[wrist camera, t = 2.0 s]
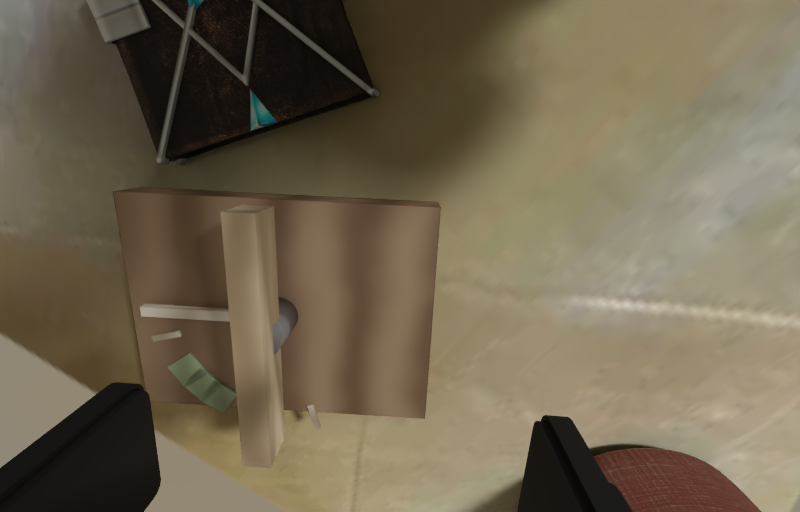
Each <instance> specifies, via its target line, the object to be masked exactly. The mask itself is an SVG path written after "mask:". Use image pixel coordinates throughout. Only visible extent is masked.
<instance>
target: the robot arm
mask: <svg viewBox="0 0 800 512" xmlns="http://www.w3.org/2000/svg"><path fill="white" fill-rule="evenodd" d="M160 482H161V477H160V470H159V462H158V455H157V448H156V441H155V433H154V426H153V418H152V411H151V404H150V397H149V394H148V392H146V391H144V388H143V387H142V386H141V385H139V384H130V383H117V382H116V383H112V384H110V385H108V386H107V387H106V388H104V389H103V390H102V391H100V392H99V393H98V394H96V395H95V396H94V397H92V398H91V399H90V400H89V401H87V402H86V403H85V404H83V405H82V406H81V407H80V408H78V409H77V410H76V411H74V412H73V413H72V414H71V415H69V416H68V417H66V418H65V419H64V420H62V422H60V423H59V424H57V425H56V426H55V427H53V428H52V429H51V430H49V431H48V432H47V433H46V434H44V435H43V436H42V437H40V438H39V439H38V440H36V441H35V442H34V443H32V444H31V445H30V446H29V447H27V448H26V449H25V450H23V451H22V452H21V453H20V454H18V455H17V456H16V457H14V458H13V459H12V460H10V461H9V462H8V463H7V464H5V465H4V466H2V467H1V468H0V512H144V511H145V509H146V508H147V506H148V505H149V504H150V502H151V501H152V500H153V499H154V497H155V495H156V494H157V492H158V489H159V487H160ZM518 512H632V510H631V508H630V507H629V505H628V503H627V502H626V500H625V499H624V497H623V495H622V494H621V492H620V491H619V490H618V488H617V487H616V486H615V485H613V484H612V483H609V482H608V480H607V479H606V477H605V475H604V474H603V472H602V470H601V469H600V467H599V465H598V463H597V462H596V460H595V458H594V457H593V455H592V453H591V452H590V450H589V448H588V447H587V445H586V443H585V442H584V440H583V438H582V436H581V435H580V433H579V431H578V430H577V428H576V426H575V425H574V423H573V421H572V420H571V419H570V418H569V417H560V416H547V415H545V416H543V417H542V419H541V421H536V422H535V423H534V426H533V431H532V437H531V442H530V447H529V452H528V458H527V463H526V468H525V473H524V478H523V484H522V489H521V494H520V499H519V505H518Z"/></svg>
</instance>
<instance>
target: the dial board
mask: <svg viewBox="0 0 800 512" xmlns="http://www.w3.org/2000/svg"><path fill="white" fill-rule="evenodd" d="M113 194H114V201H115V207H116V213H117V219H118V225H119V231H120V237H121V243H122V249H123V255H124V261H125V267H126V274H127V280H128V286H129V292H130V298H131V304H132V310H133V316H134V322H135V328H136V334H137V340H138V347H139V353H140V359H141V365H142V371H143V377H144V383H145V389H146V392H148V394H149V397H150V401H152V402H168V403H183V404H199V405H209V406H210V407H212V408H214V409H215V410H217V411H218V412H220V413H222V414H223V413H224V412H225V411H226V409H227V408H228V407H229V406H231V407H237V396H236V385H235V373H234V362H233V351H232V339H231V328H230V322H228V321H210V320H193V319H175V318H158V317H141V312H140V306H142V305H144V304H156V305H174V306H191V307H209V308H227V309H229V305H228V294H227V282H226V271H225V259H224V248H223V237H222V225H221V214H220V212H222V211H225V210H228V209H231V208H234V207H237V206H241V205H261V206H274V218H275V239H276V260H277V281H278V297H281V298H284V299H287V300H289V301H290V302H291V303H292V304H293V305H294V306H295V307H296V309H297V312H298V321H297V324H296V325H295V327H294V328H293V330H292V331H291V333H290V334H289V336H288V337H287V339H286V340H285V342H284V343H283V345H282V346H281V364H282V385H283V406H284V410H295V411H309V414H310V417H311V420H312V423H313V426H314V429H320V428H321V426H320V423H319V420H318V417H317V414H316V412H327V413H343V414H359V415H375V416H391V417H407V418H423V419H425V411H426V398H427V385H428V371H429V358H430V344H431V331H432V318H433V304H434V291H435V277H436V264H437V250H438V237H439V224H440V210H441V207H440V205H439V203H438V202H425V201H404V200H384V199H364V198H344V197H324V196H303V195H283V194H263V193H243V192H222V191H202V190H182V189H162V188H135V189H127V190H120V191H113Z"/></svg>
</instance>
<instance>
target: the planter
mask: <svg viewBox="0 0 800 512" xmlns="http://www.w3.org/2000/svg"><path fill="white" fill-rule="evenodd" d="M593 457H594V458H595V460H596V462H597V463H598V465H599V467H600V469H601V470H602V472H603V474H604V475H605V477H606V479H607V480H608V482H609V483H612V484H613V485H615V486H616V487H617V488H618V490H619V491H620V492H621V494H622V495H623V497H624V499H625V500H626V502H627V503H628V505H629V507H630V508H631V510H632V512H761V511H760V510H759V509H758V508H757V507H756V506H755V505H754V504H753V503H752V501H751V500H750V499H749V498H748V497H747V496H746V495H745V494H744V493H743V492H742V491H741V490H740V489H739V488H738V487H737V486H736V485H735V484H734V483H732V482H731V481H730V480H729V479H728V478H727V477H726V476H724V475H723V474H722V473H721V472H720V471H718V470H717V469H716V468H714V467H713V466H711V465H709V464H708V463H706V462H704V461H702V460H700V459H697V458H695V457H692V456H690V455H687V454H684V453H680V452H676V451H671V450H665V449H656V448H631V449H622V450H616V451H610V452H606V453H602V454H598V455H595V456H593Z"/></svg>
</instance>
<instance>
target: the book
mask: <svg viewBox="0 0 800 512" xmlns="http://www.w3.org/2000/svg"><path fill="white" fill-rule="evenodd" d="M86 1H87V3H88V5H89V7H90V10H91V12H92V14H93V16H94V19H95V21H96V23H97V25H98V28H99V30H100V32H101V34H102V37H103V39H104V41H105V42H106V43H109V44H112V45H115V46H117V48H118V50H119V53H120V55H121V57H122V60H123V62H124V65H125V67H126V69H127V72H128V74H129V77H130V79H131V82H132V85H133V88H134V90H135V93H136V96H137V99H138V101H139V104H140V107H141V110H142V112H143V115H144V118H145V121H146V123H147V126H148V129H149V132H150V134H151V137H152V140H153V143H154V145H155V148H156V151H157V153H158V154H157V158H156V163H159V164H168V163H169V161H174V160H177V161H176V163H177V164H179V165H185V163H186V159H184V158H190V157H193V156H195V155H198V154H201V153H204V152H207V151H210V150H213V149H216V148H219V147H221V146H224V145H227V144H230V143H233V142H236V141H239V140H242V139H245V138H248V137H251V136H254V135H257V134H260V133H263V132H266V131H269V130H272V129H275V128H279V127H282V126H285V125H288V124H291V123H294V122H297V121H300V120H303V119H306V118H309V117H312V116H315V115H319V114H322V113H325V112H328V111H331V110H334V109H337V108H340V107H343V106H346V105H349V104H353V103H356V102H359V101H362V100H365V99H368V98H371V97H374V96H376V97H378V95H379V93H380V92H379V91H378V90H376V89H375V88H374V87H373V84H372V82H371V79H370V77H369V74H368V71H367V69H366V66H365V63H364V61H363V58H362V56H361V53H360V50H359V48H358V45H357V42H356V40H355V37H354V35H353V32H352V29H351V27H350V24H349V21H348V19H347V16H346V13H345V10H344V6H343V3H342V0H86Z"/></svg>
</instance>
